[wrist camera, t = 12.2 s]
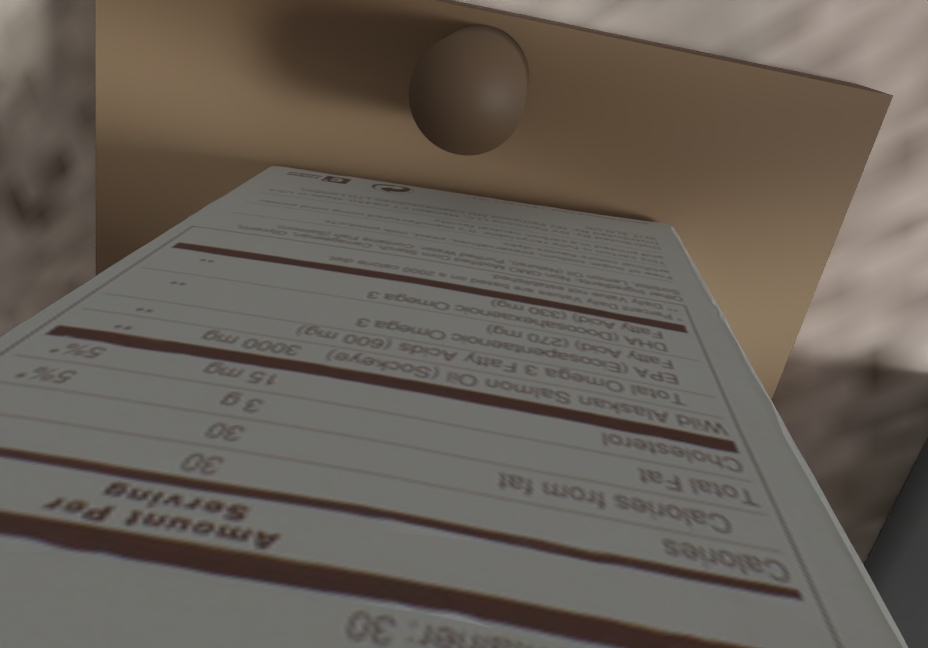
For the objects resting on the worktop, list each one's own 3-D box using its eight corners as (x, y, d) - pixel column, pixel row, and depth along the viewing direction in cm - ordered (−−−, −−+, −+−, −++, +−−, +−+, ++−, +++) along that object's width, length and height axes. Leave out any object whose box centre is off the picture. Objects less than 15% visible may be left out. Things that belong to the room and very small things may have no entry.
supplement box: (598, 552, 17) (723, 1858, 5) (251, 491, 17) (-391, 1614, 5) (687, 214, 14) (1497, 1499, 2) (265, 144, 14) (-1150, 966, 2)
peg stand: (138, -65, 14) (-4, -82, 10) (858, 84, 14) (971, 120, 10) (128, 518, 19) (31, 643, 16) (651, 630, 19) (677, 782, 16)
